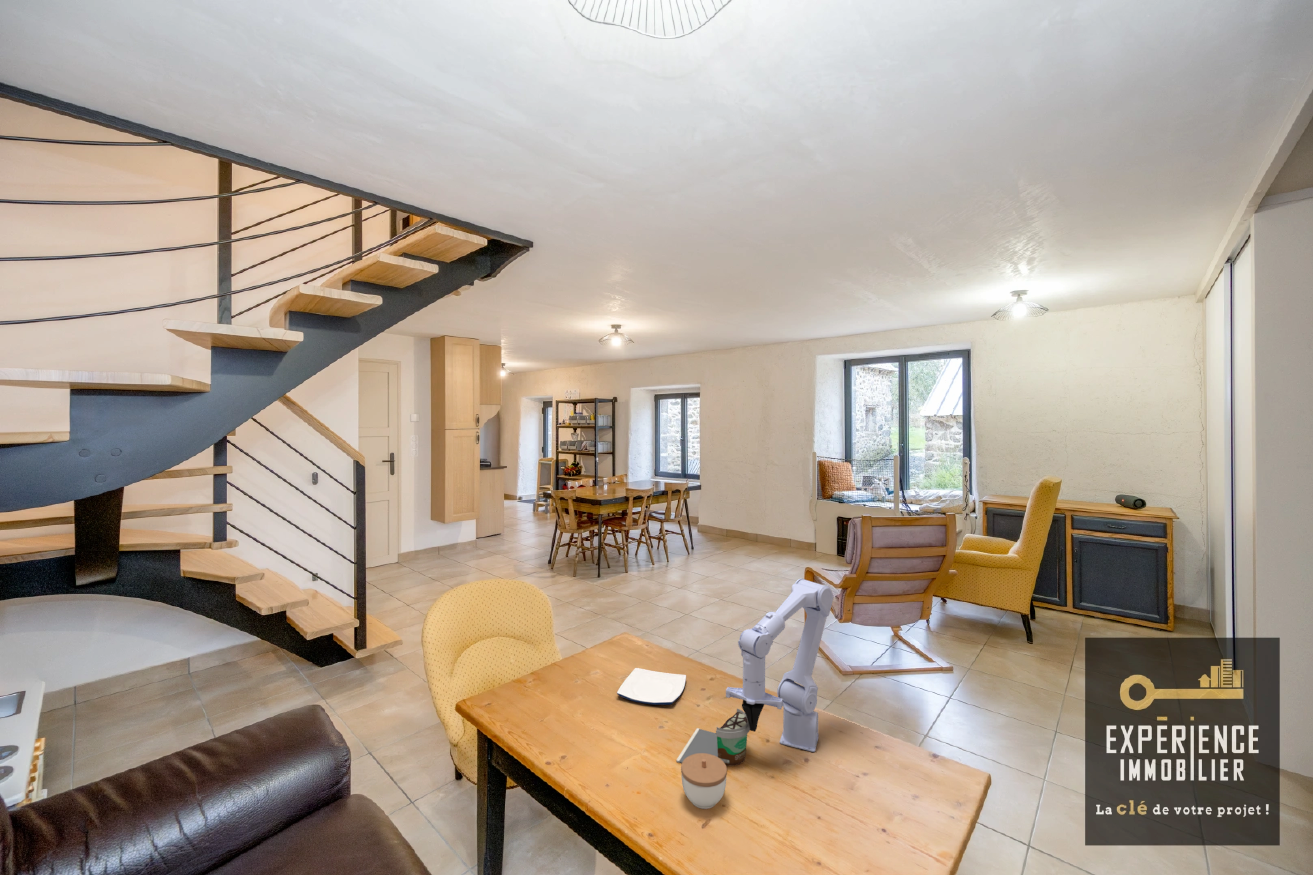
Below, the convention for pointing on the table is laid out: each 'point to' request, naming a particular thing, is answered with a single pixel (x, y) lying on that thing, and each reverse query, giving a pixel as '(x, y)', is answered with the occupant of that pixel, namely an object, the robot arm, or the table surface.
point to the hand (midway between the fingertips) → (753, 729)
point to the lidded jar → (703, 779)
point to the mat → (700, 744)
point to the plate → (652, 687)
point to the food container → (733, 739)
